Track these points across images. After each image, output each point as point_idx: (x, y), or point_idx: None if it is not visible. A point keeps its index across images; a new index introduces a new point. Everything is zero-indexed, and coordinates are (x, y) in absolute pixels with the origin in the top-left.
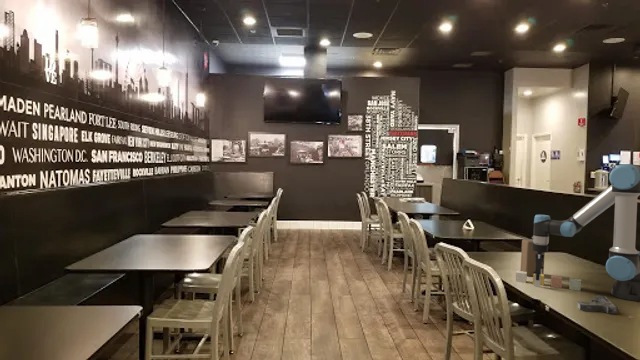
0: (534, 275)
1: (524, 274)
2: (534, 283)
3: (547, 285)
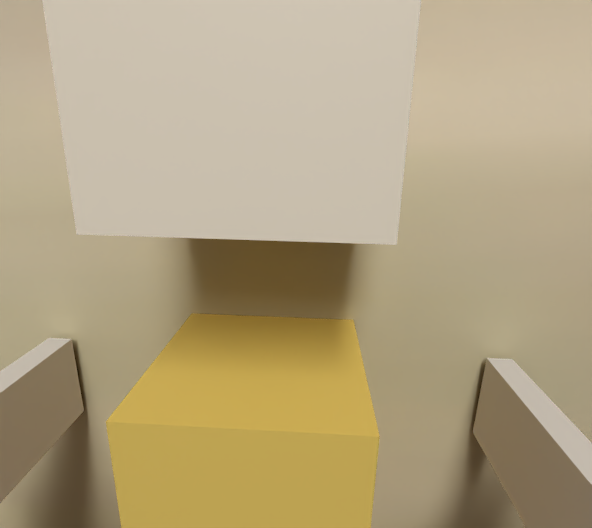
0: (116, 436)
1: (86, 182)
2: (21, 359)
3: None
